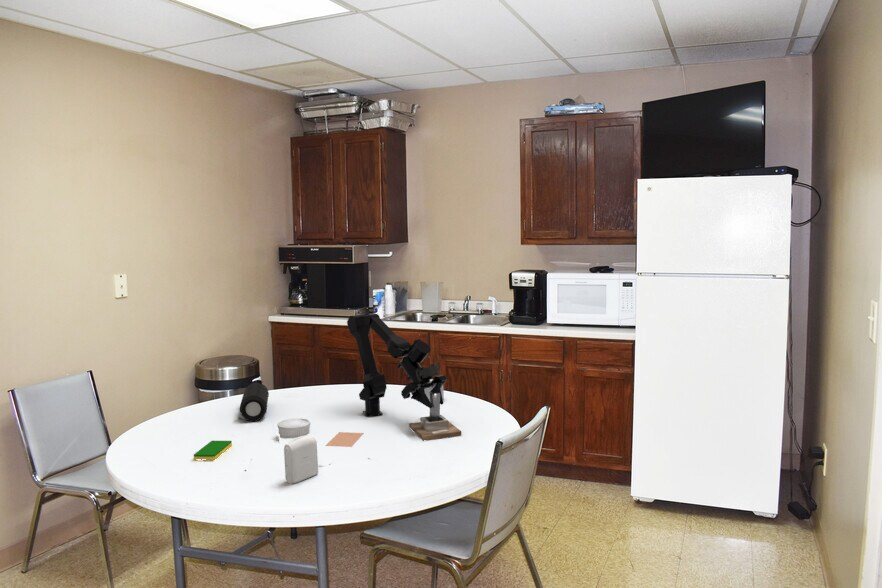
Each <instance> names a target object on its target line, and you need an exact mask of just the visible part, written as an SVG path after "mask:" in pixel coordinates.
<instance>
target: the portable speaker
mask: <svg viewBox="0 0 882 588" xmlns="http://www.w3.org/2000/svg"><path fill="white" fill-rule="evenodd" d="M269 393H270V392H269V389H268V387H267V386H266V385H265V384H263V383H260V382H253V383H250V384H249V385H247V387H245V388H244V391H243V393H242V398H241V401H240V404H239V412H240V414H241V416H242V418H243V419H245V420H247V421H249V422H256V420H257V421H259V420H262V418H264V416H265V415H266V413H267V409H268V402H269V396H270V394H269Z"/></svg>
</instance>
